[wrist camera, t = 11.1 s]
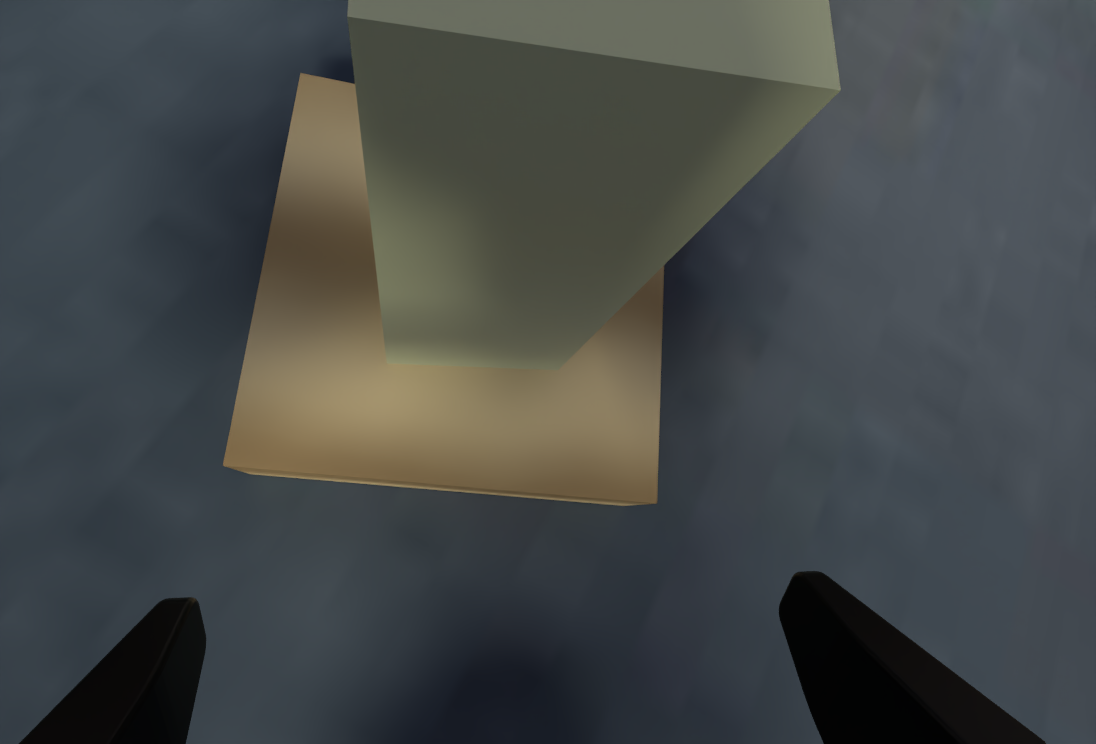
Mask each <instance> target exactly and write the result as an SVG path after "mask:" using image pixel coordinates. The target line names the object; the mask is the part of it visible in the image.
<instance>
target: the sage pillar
mask: <svg viewBox="0 0 1096 744" xmlns="http://www.w3.org/2000/svg"><path fill="white" fill-rule="evenodd" d="M347 18H348V26H349V35H350V44H351V53H352V62H353V71H354V79H355V88H356V97H357V106H358V115H359V124H360V132H361V141H362V150H363V159H364V168H365V176H366V185H367V194H368V203H369V212H370V221H371V229H372V238H373V247H374V256H375V265H376V274H377V282H378V291H379V300H380V309H381V318H382V326H383V335H384V344H385V353H386V362H387V363H388V364H414V365H439V366H465V367H491V368H516V369H542V370H559V369H560V368H561V367H562V366H563V365H564V364H565V363H566V362H567V361H568V360H569V359H570V358H571V357H572V356H573V355H574V354H575V353H576V352H577V351H578V350H579V349H580V348H581V347H582V346H583V345H584V344H585V343H586V342H587V341H588V340H589V339H590V338H591V337H592V336H593V335H594V334H595V333H596V332H597V331H598V330H599V329H600V328H601V327H602V326H603V325H604V324H605V323H606V322H607V321H608V320H609V319H610V318H611V317H612V316H613V315H614V314H615V313H616V312H617V311H618V310H619V309H620V308H621V307H622V306H623V305H624V304H625V303H626V302H627V301H628V300H629V299H630V298H631V297H632V296H633V295H634V294H635V293H636V292H637V291H638V290H639V289H640V288H641V287H642V286H643V285H645V284H646V283H647V282H648V281H649V280H650V279H651V278H652V277H653V276H654V275H655V274H656V273H657V272H658V271H659V270H660V269H661V268H662V267H663V266H664V265H665V264H666V263H667V262H668V261H669V260H670V259H671V258H672V257H673V256H674V255H675V254H676V253H677V252H678V251H679V250H680V249H681V248H682V247H683V246H684V245H685V244H686V243H687V242H688V241H689V240H690V239H691V238H692V237H693V236H694V235H695V234H696V233H697V232H698V231H699V230H700V229H701V228H702V227H703V226H704V225H705V224H706V223H707V222H708V221H709V220H710V219H711V218H712V217H713V216H714V215H715V214H716V213H717V212H718V211H719V210H720V209H721V208H722V207H723V206H724V205H725V204H726V203H727V202H728V201H729V200H730V199H731V198H732V197H733V196H734V195H735V194H736V193H737V192H738V191H739V190H740V189H741V188H742V187H743V186H744V185H745V184H746V183H748V182H749V181H750V180H751V179H752V178H753V177H754V176H755V175H756V174H757V173H758V172H759V171H760V170H761V169H762V168H763V167H764V166H765V165H766V164H767V163H768V162H769V161H770V160H771V159H772V158H773V157H774V156H775V155H776V154H777V153H778V152H779V151H780V150H781V149H782V148H783V147H784V146H785V145H786V144H787V143H788V142H789V141H790V140H791V139H792V138H793V137H794V136H795V135H796V134H797V133H798V132H799V131H800V130H801V129H802V128H803V127H804V126H805V125H806V124H807V123H808V122H809V121H810V120H811V119H812V118H813V117H814V116H815V115H816V114H817V113H818V112H819V111H820V110H821V109H822V108H823V107H824V106H825V105H826V104H827V103H828V102H829V101H830V100H831V99H832V98H833V97H834V96H835V95H836V94H837V93H838V92H839V91H840V90H841V89H840V82H839V75H838V67H837V60H836V52H835V45H834V37H833V30H832V22H831V15H830V8H829V0H348V14H347Z"/></svg>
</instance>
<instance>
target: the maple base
mask: <svg viewBox="0 0 1096 744" xmlns="http://www.w3.org/2000/svg"><path fill="white" fill-rule="evenodd" d="M663 287H664V266H663V267H662V268H661V269H660V270H659V271H658V272H657V273H656V274H655V275H654V276H653V277H652V278H651V279H650V280H649V281H648V282H647V283H646V284H645V285H643V286H642V287H641V288H640V289H639V290H638V291H637V292H636V293H635V294H634V295H633V296H632V297H631V298H630V299H629V300H628V301H627V302H626V303H625V304H624V305H623V306H622V307H621V308H620V309H619V310H618V311H617V312H616V313H615V314H614V315H613V316H612V317H611V318H610V319H609V320H608V321H607V322H606V323H605V324H604V325H603V326H602V327H601V328H600V329H599V330H598V331H597V332H596V333H595V334H594V335H593V336H592V337H591V338H590V339H589V340H588V341H587V342H586V343H585V344H584V345H583V346H582V347H581V348H580V349H579V350H578V351H577V352H576V353H575V354H574V355H573V356H572V357H571V358H570V359H569V360H568V361H567V362H566V363H565V364H564V365H563V366H562V367H561V368H560V369H559V370H542V369H516V368H491V367H465V366H439V365H414V364H388V363H387V362H386V353H385V344H384V335H383V326H382V318H381V309H380V300H379V291H378V282H377V274H376V265H375V256H374V247H373V238H372V229H371V221H370V212H369V203H368V194H367V185H366V176H365V168H364V159H363V150H362V141H361V132H360V124H359V115H358V106H357V97H356V88H355V84H352V83H347V82H342V81H337V80H333V79H328V78H323V77H318V76H313V75H308V74H303V73H301V74H300V79H299V84H298V89H297V94H296V99H295V104H294V109H293V114H292V119H291V124H290V129H289V134H288V139H287V144H286V149H285V155H284V160H283V165H282V170H281V175H280V180H279V185H278V190H277V195H276V200H275V205H274V210H273V215H272V220H271V225H270V230H269V235H268V241H267V246H266V251H265V256H264V261H263V266H262V271H261V276H260V281H259V286H258V291H257V296H256V301H255V306H254V311H253V316H252V321H251V326H250V332H249V337H248V342H247V347H246V352H245V357H244V362H243V367H242V372H241V377H240V382H239V387H238V392H237V397H236V402H235V407H234V412H233V417H232V423H231V428H230V433H229V438H228V443H227V448H226V453H225V458H224V463H223V466H226V467H229V468H232V469H235V470H239V471H242V472H245V473H248V474H256V475H268V476H280V477H292V478H303V479H315V480H327V481H338V482H350V483H362V484H373V485H385V486H397V487H409V488H420V489H432V490H444V491H455V492H467V493H479V494H490V495H502V496H514V497H526V498H537V499H549V500H561V501H572V502H584V503H596V504H607V505H619V506H629V505H643V504H656V503H657V487H658V454H659V421H660V387H661V354H662V320H663Z"/></svg>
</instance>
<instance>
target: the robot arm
mask: <svg viewBox="0 0 1096 744" xmlns="http://www.w3.org/2000/svg"><path fill="white" fill-rule="evenodd" d="M779 617H780V621H781V624H782V627H783V630H784V633H785V637H786V640H787V643H788V646H789V649H790V652H791V655H792V658H793V661H794V664H795V667H796V670H797V674H798V677H799V680H800V683H801V686H802V689H803V692H804V695H805V698H806V701H807V704H808V706H809V709H810V712H811V714H812V717H813V719H814V722H815V724H816V727H817V729H818V731H819V734H820V736H821V738H822V740H823V743H824V744H1046V743H1045V741H1043V740H1042V739H1041V738H1039V737H1038V736H1037V735H1036V734H1034V733H1033V732H1032V731H1030V730H1029V729H1028V728H1026V727H1025V726H1024V725H1022V724H1021V723H1020V722H1018V721H1017V720H1016V719H1015V718H1013V717H1012V716H1011V715H1009V714H1008V713H1007V712H1005V711H1004V710H1003V709H1001V708H1000V707H999V706H997V705H996V704H995V703H993V702H992V701H991V700H990V699H988V698H987V697H986V696H984V695H983V694H982V693H980V692H979V691H978V690H976V689H975V688H974V687H972V686H971V685H970V684H969V683H967V682H966V681H965V680H963V679H962V678H961V677H959V676H958V675H957V674H955V673H954V672H953V671H951V670H950V669H949V668H948V667H946V666H945V665H944V664H942V663H941V662H940V661H938V660H937V659H936V658H934V657H933V656H932V655H930V654H929V653H928V652H926V651H925V650H924V649H923V648H921V647H920V646H919V645H917V644H916V643H915V642H913V641H912V640H911V639H909V638H908V637H907V636H905V635H904V634H903V633H902V632H900V631H899V630H898V629H896V628H895V627H894V626H892V625H891V624H890V623H888V622H887V621H886V620H884V619H883V618H882V617H881V616H879V615H878V614H877V613H875V612H874V611H873V610H871V609H870V608H869V607H867V606H866V605H865V604H863V603H862V602H861V601H859V600H858V599H857V598H856V597H854V596H853V595H852V594H850V593H849V592H848V591H846V590H845V589H844V588H842V587H841V586H840V585H838V584H837V583H836V582H835V581H833V580H832V579H831V578H829V577H828V576H827V575H825V574H824V573H822V572H818V571H805V572H797V573H796V574H794V575H793V577H792V579H791V581H790V583H789V585H788V587H787V589H786V591H785V594H784V596H783V598H782V600H781V602H780V605H779ZM205 650H206V633H205V629H204V624H203V620H202V615H201V611H200V606H199V603H198V601H197V600H196V599H195V598H191V597H188V598H168V599H164V600H162V601H160V602H159V603H158V604H157V605H156V606H155V607H154V608H153V609H152V610H151V611H150V612H149V613H148V614H147V615H146V616H145V617H144V618H143V619H142V620H141V621H140V622H139V623H138V624H137V625H136V626H135V627H134V628H133V629H132V630H131V631H130V632H129V633H128V634H127V635H126V636H125V637H124V638H123V639H122V640H121V641H120V642H119V643H118V644H117V645H116V646H115V647H114V648H113V649H112V650H111V651H110V652H109V653H108V654H107V655H106V656H105V657H104V658H103V659H102V660H101V661H100V662H99V663H98V664H97V665H96V666H95V667H94V668H93V669H92V670H91V671H90V672H89V673H88V674H87V675H86V676H85V677H84V678H83V679H82V680H81V681H80V682H79V683H78V684H77V685H76V686H75V687H74V688H73V689H72V690H71V691H70V692H69V693H68V694H67V696H66V697H65V698H64V699H63V700H62V701H61V702H60V703H59V704H58V705H57V706H56V707H55V708H54V709H53V710H52V711H51V712H50V713H49V714H48V715H47V716H46V717H45V718H44V719H43V720H42V721H41V722H40V723H39V724H38V725H37V726H36V727H35V728H34V729H33V730H32V731H31V732H30V733H29V734H28V735H27V736H26V737H25V738H24V739H23V740H22V741H21V742H20V743H19V744H186V740H187V735H188V730H189V726H190V721H191V716H192V712H193V707H194V702H195V698H196V693H197V688H198V684H199V679H200V674H201V670H202V665H203V660H204V656H205Z"/></svg>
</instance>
